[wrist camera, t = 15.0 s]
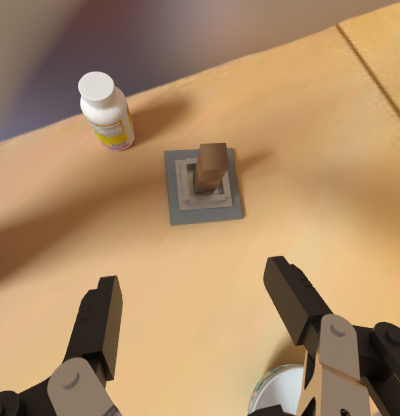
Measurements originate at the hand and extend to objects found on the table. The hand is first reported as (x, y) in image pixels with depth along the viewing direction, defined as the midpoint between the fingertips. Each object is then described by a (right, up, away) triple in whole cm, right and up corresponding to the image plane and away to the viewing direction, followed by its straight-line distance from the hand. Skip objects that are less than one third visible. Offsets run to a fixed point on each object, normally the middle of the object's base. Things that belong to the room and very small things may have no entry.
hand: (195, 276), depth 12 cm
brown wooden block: (+1, +8, +29) cm, 30 cm away
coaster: (+1, +8, +31) cm, 32 cm away
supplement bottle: (-15, +17, +31) cm, 39 cm away
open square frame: (+1, +8, +30) cm, 31 cm away
